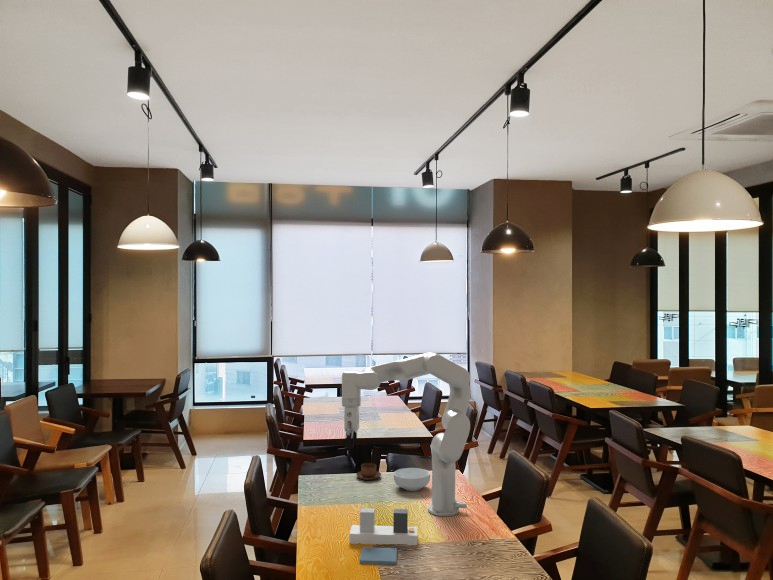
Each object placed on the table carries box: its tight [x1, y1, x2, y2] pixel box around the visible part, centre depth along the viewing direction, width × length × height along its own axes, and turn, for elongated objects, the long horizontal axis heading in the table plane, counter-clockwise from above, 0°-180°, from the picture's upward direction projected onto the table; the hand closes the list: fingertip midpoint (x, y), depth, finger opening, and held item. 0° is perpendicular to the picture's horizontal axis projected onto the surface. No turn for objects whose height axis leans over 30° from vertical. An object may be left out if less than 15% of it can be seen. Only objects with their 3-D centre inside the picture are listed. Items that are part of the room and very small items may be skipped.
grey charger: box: [359, 507, 376, 532], centre depth 211 cm, size 5×4×8 cm
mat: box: [359, 546, 398, 565], centre depth 196 cm, size 12×10×1 cm
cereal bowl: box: [393, 467, 431, 492], centre depth 268 cm, size 17×17×7 cm
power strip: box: [349, 524, 418, 546], centre depth 210 cm, size 24×8×4 cm, turn 87°
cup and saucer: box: [356, 462, 382, 481], centre depth 283 cm, size 12×12×6 cm
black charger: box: [392, 508, 409, 533], centre depth 210 cm, size 5×4×8 cm
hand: (351, 444), depth 233 cm, fingers open, 9 cm apart
